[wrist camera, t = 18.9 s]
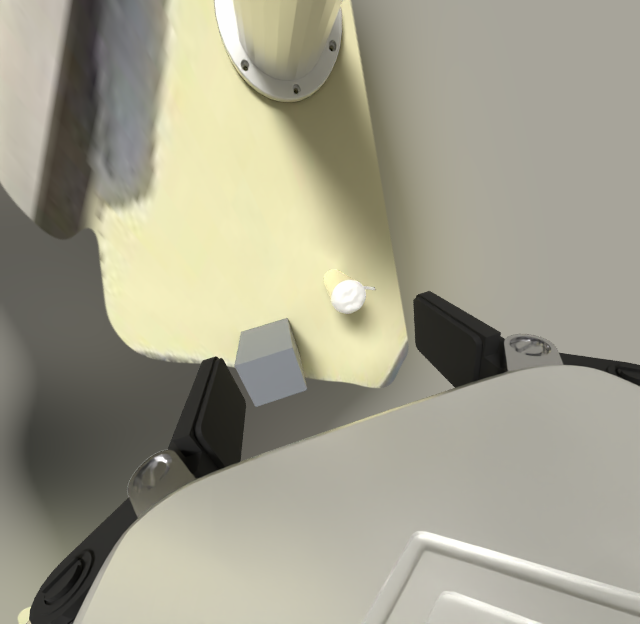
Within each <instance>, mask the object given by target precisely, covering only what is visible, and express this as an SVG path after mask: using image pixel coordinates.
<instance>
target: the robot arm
mask: <svg viewBox="0 0 640 624" xmlns="http://www.w3.org/2000/svg"><path fill="white" fill-rule="evenodd" d="M342 1H343V0H214V6H215V15H216V19H217V24H218V28H219V32H220V35H221V39H222V42H223V45H224V47H225V49H226V51H227V54H228V56H229V58H230V60H231V62H232V63H233V65H234V67H235V68H236V70H237V71H238V73H239V74H240V75H241V76H242V77H243V79H244V80H245V81H246V82H247V83H248V84H249V85H250V86H251V87H252V88H254V89H255V90H256V91H257V92H259V93H260V94H262V95H264V96H266V97H267V98H270V99H273V100H276V101H279V102H295V101H300V100H303V99H305V98H307V97H309V96H311V95H312V94H313V93H315V92H316V91H317V90H319V88H320V87H321V86H322V85H323V84H324V82H325V81H326V80H327V78H328V76H329V74H330V73H331V71H332V69H333V66H334V64H335V62H336V59H337V56H338V53H339V49H340V43H341V35H342V11H341V4H342ZM329 48H332V50H333V51H331V50H330V49H329ZM244 67H247V68H248V70H247V71H244V70H243V68H244ZM294 90H297V91H298V94H295V93H294ZM414 323H415V343H416V347H417V349H418V350H419V351H420V352H421V353H422V354H423V355H424V356H425V357H426V358H427V359H428V360H429V361H430V363H432V365H433V366H434V367H436V369H437V370H438V371H439V372H440V373H441V374H442V375H443V376H444V377H445V378H446V379H447V380H448V381H449V382H450V383H451V384H452V385H453V386H454V387H455V388H453V389H450V390H448V391H445V392H441V393H438V394H436V395H432V396H429V397H427V398H424V399H421V400H417V401H415V402H412V403H409V404H405V405H403V406H400V407H397V408H394V409H391V410H388V411H385V412H382V413H379V414H376V415H373V416H370V417H367V418H364V419H361V420H358V421H355V422H352V423H350V424H347V425H344V426H341V427H338V428H335V429H332V430H329V431H326V432H323V433H320V434H318V435H315V436H312V437H309V438H306V439H303V440H300V441H297V442H295V443H292V444H289V445H286V446H283V447H280V448H277V449H275V450H272V451H269V452H266V453H263V454H260V455H258V456H255V457H252V458H249V459H246V460H244V461H241V462H240V460H241V449H242V440H243V430H244V420H245V409H246V403H245V399H244V397H243V396H242V394H241V392H240V390H239V388H238V386H237V384H236V383H235V381H234V379H233V377H232V375H231V373H230V371H229V370H228V368H227V366H226V364H225V362H224V360H223V359H222V358H220V359H219V358H218V357H213V358H209V359H206V360H203V361H202V363H201V366H200V368H199V371H198V373H197V376H196V379H195V381H194V384H193V386H192V389H191V391H190V394H189V397H188V399H187V401H186V404H185V406H184V409H183V411H182V414H181V417H180V419H179V422H178V424H177V427H176V429H175V432H174V434H173V437H172V440H171V442H170V445H169V447H168V450H163V451H160V452H158V453H156V454H154V455H152V456H151V457H149V458H148V459H147V460H145V461H144V462H143V463H142V464H141V465H140V466H139V467H138V469H137V470H136V471H135V473H134V474H133V475H132V477H131V479H130V481H129V484H128V487H127V492H128V496H129V498H128V499H127V500H126V501H125V502H123V503H122V504H121V505H120V506H119V507H118V508H117V509H116V510H115V511H114V512H113V513H112V514H111V515H110V516H109V517H108V518H107V519H106V520H105V521H104V522H103V523H102V524H101V525H100V526H98V527H97V528H96V529H95V530H94V531H93V532H92V533H91V534H90V535H89V536H88V537H87V538H86V539H85V540H84V541H83V542H82V543H81V544H80V545H79V546H78V547H76V548H75V549H74V550H73V551H72V552H71V553H70V554H69V555H68V556H67V557H66V558H65V559H64V560H63V561H62V562H61V563H60V564H59V565H58V566H57V568H55V569H54V570H53V572H52V573H51V574H50V575H49V577H48V578H47V579H46V581H45V582H44V584H43V585H42V586H41V588H40V590H39V591H38V593H37V595H36V597H35V598H34V601H33V604H32V606H31V609H30V616H29V621H28V622H27V623H26V624H640V365H637V364H632V363H627V362H620V361H613V360H606V359H598V358H591V357H585V356H577V355H571V354H564V353H559V352H558V350H557V348H556V346H555V345H554V344H553V343H551V342H550V341H548V340H547V339H544V338H542V337H539V336H535V335H529V334H516V335H511V336H509V337H507V338H506V339H504V338H502V337H501V336H500V335H501V333H500V332H499V331H497V330H495V329H494V328H492V327H490V326H489V325H487V324H485V323H483V322H482V321H480V320H478V319H477V318H475V317H473V316H472V315H470V314H468V313H466V312H464V311H463V310H461V309H460V308H458V307H456V306H454V305H453V304H451V303H449V302H448V301H446V300H444V299H442V298H441V297H439V296H437V295H436V294H434V293H432V292H430V291H428V292H425V293H421V294H418V295H417V296H416V298H415V299H414Z"/></svg>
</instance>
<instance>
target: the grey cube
mask: <svg viewBox="0 0 640 624" xmlns="http://www.w3.org/2000/svg"><path fill="white" fill-rule="evenodd" d="M235 368H236V369H237V371H238V374H239V376H240V378H241V379H242V381H243V383H244V385H245V387H246V389H247V391H248V393H249V395H250V397H251V399H252V401H253V403H254V405H255V407H257V406H260V405H263V404H266V403H269V402H272V401H275V400H278V399H281V398H284V397H287V396H290V395H293V394H296V393H299V392H302V391H305V390H307V386H306V381H305V376H304V372H303V367H302V362H301V358H300V354H299V351H298V348H297V345H296V342H295V339H294V336H293V333H292V330H291V327H290V324H289V321H288V318H286V319H283V320H279V321H276V322H273V323H269V324H266V325H263V326H260V327H256V328H253V329H250V330H246V331H243V332H241V335H240V340H239V346H238V351H237V356H236V361H235Z"/></svg>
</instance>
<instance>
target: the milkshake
mask: <svg viewBox="0 0 640 624" xmlns="http://www.w3.org/2000/svg"><path fill="white" fill-rule="evenodd" d="M323 280H324V284H325V287H326V289H327V291H328V294H329V296H330V299H331V302H332V305H333V306H334V308H335V309H336V310H337V311H339V312H341V313H345V314H350V313H353V312H355V311H357V310H359V309H360V308H361V307H362V305H363V303H364V301H365V298H366V292H365V289H369V290H376V289H375V287H367V286H363V285H362V284H361V283H359V282H358V281H356V280H354V279H352V278H351V277H349V276H347V275H346V274H344V273H343V272H341V271H340V270H338V269H331V270H329V271H328V272H326V273H325V276H324V278H323Z"/></svg>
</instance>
